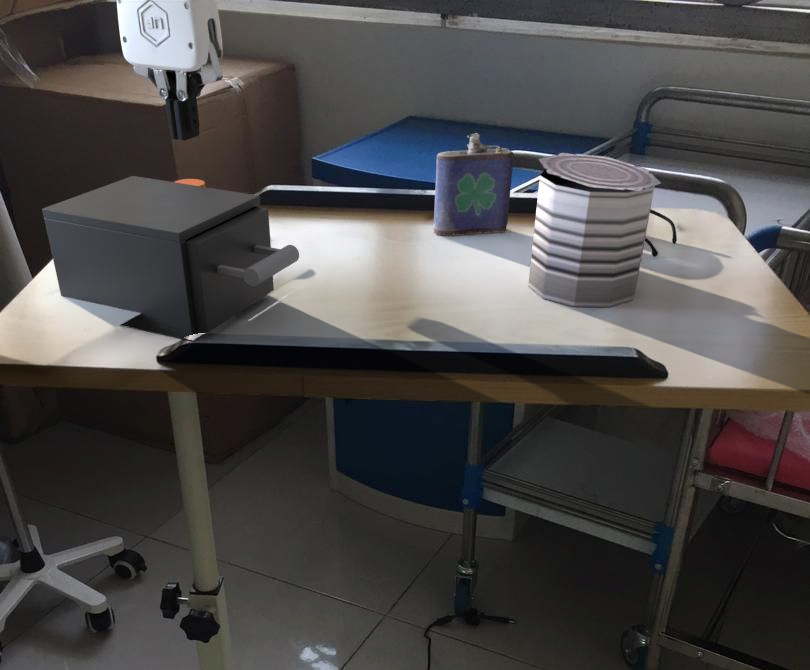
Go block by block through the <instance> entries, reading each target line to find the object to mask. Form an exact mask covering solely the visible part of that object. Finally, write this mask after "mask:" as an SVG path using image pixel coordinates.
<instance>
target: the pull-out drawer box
mask: <svg viewBox="0 0 810 670" xmlns="http://www.w3.org/2000/svg"><path fill="white" fill-rule="evenodd" d="M269 213H270V212H269V208H264V207H261V208H259V207H257V208H255V209H253V210H251V211H249V212H247V213H245V214H242V213H241V214H239V215H237V216H235V217H232V218H230V219H228V220H226V221H224V222H222V223H220V224H218V225H216V226H214V227H212V228H210V229H207V230H205V231H203V232H201V233H199V234H197V235H195V236H193V237H191V238H189V239H187V240H185V241H186V242H185V244H186V252H187V260H188V268H189V276H190V284H191V292H192V300H193V308H194V316H195V323H196V330H200V331H205V332H208V331H209V332H211V331H212V330H214V329H215V327H216V326H217V327H219V326H220V325H222V324H224V323H225V322H226V320H227V319H228V320H230V319H231V318H233V317H235V316H236V315H238V314H239V313H241V312H242V311H244V310H246V309H247V308H249V307H251V306H252V305H254V304H255V303H257V302H259V301H260V300H262V299H263V298H265V297H266V296H268V294H270V293H272V292H273V291H275V287H274V286H275V285H274V276H275V275H277V274H278V273H280V272H281V271H283V270H285V269H286V268H288V267H290V266H291V265H293V264H295V263H296V262H298V261H299V258H300V251H299V249H298V248H297V247H296V246H295V245H292V244H288V245H285V246H283V247H282V248H276V247H272V243H271V230H270V229H271V228H270V214H269ZM265 295H266V296H265ZM264 296H265V297H264ZM262 297H263V298H262ZM259 299H260V300H259ZM256 301H257V302H256ZM254 302H255V303H254ZM251 304H252V305H251ZM248 306H249V307H248ZM246 307H247V308H246ZM245 308H246V309H245ZM243 309H244V310H243ZM240 311H241V312H240ZM238 312H239V313H238ZM237 313H238V314H237ZM235 314H236V315H235ZM232 316H233V317H232ZM230 317H231V318H230ZM229 318H230V319H229ZM228 320H227V321H228ZM224 321H225V322H224ZM223 322H224V323H223ZM221 323H222V324H221ZM219 324H220V325H219ZM218 325H219V326H218ZM217 327H216V328H217ZM213 328H214V329H213ZM211 329H212V330H211ZM210 330H211V331H210ZM209 332H208V333H209Z"/></svg>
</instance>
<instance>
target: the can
mask: <svg viewBox="0 0 810 670" xmlns="http://www.w3.org/2000/svg"><path fill="white" fill-rule="evenodd" d="M538 161H539V162H540V164H541V166H542V167H543V168H544V170H543V171H542V172H541V173H540V175H539V182H538V191H537V201H536V210H535V220H534V229H533V236H532V248H531V256H530V264H529V265H530V266H529V275H528V284H527V287H528V288H529V289H530V290H532V291H533V292H534V293H535V294H537V296H538V297H540V298H541V299H543V300H548V301H551V302H554V303H559V304H562V305H566V306H570V307H572V308H573V307H574V308H611V307H615V306H618V305H621V304H625V303H628V302H631V301H633V300H634V297H635V293H636V290H637V286H638V280H639V274H640V270H641V264H642V258H643V252H644V248H645V247H644V246H645V243H646V242H645V238H646V236H647V230H648V226H649V225H648V224H649V220H650V214H651V213H650V209H651V210H652V204H653V196H654V192H655V186H658V185H660V184H662V182H661V181H660V180H659V179H658V178H657V177H656V176H655V175H654V174H653V173H652V172H650V170H649V169H648V168H645V167H642V166H638V165H636V164H632V163H628V162H626V161H622V160H618V159H616V158H612V157H610V156H605V155H604V156H602V155H591V154H582V153H569V152H560V153H556V154H552V155H548V156H544V157H541V158H538Z"/></svg>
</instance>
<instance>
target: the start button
mask: <svg viewBox="0 0 810 670" xmlns="http://www.w3.org/2000/svg"><path fill="white" fill-rule="evenodd" d="M174 182H175V183H182V184H188V185H195V186H201V187H206V182H205V180H202V179H197V178H183V179H178V180H175V181H174Z"/></svg>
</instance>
